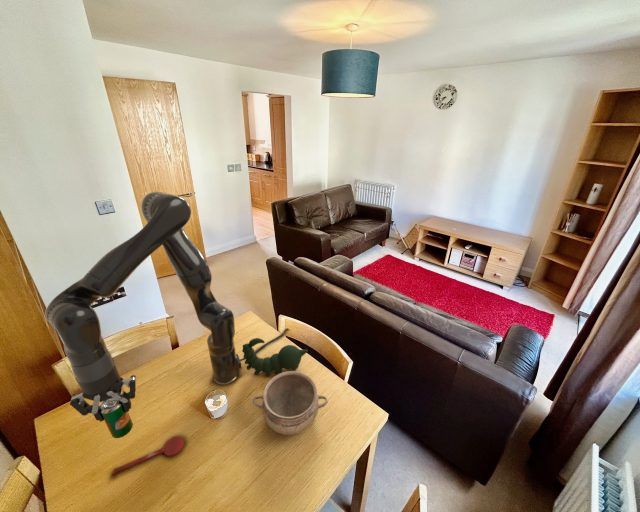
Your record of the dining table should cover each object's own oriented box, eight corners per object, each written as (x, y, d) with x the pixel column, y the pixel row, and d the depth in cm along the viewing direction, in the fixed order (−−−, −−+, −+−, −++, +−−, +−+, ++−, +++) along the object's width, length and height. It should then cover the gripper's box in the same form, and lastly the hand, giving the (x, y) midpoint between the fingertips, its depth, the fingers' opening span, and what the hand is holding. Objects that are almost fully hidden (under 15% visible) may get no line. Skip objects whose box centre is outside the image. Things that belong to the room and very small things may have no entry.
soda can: (123, 441, 75) (109, 413, 70) (107, 437, 76) (93, 409, 71) (137, 423, 80) (126, 396, 74) (122, 420, 80) (110, 392, 75)
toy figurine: (248, 386, 107) (311, 374, 110) (239, 350, 98) (307, 338, 102) (249, 367, 115) (308, 356, 118) (241, 333, 107) (304, 322, 110)
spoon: (183, 434, 88) (182, 431, 87) (184, 450, 84) (184, 448, 83) (113, 464, 80) (112, 462, 79) (111, 484, 75) (110, 482, 75)
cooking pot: (248, 445, 85) (245, 421, 80) (259, 392, 103) (257, 369, 97) (328, 445, 86) (329, 420, 81) (325, 392, 103) (327, 369, 98)
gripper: (53, 392, 61) (79, 439, 68) (128, 369, 68) (145, 413, 75) (61, 368, 67) (85, 413, 74) (130, 349, 73) (146, 392, 81)
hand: (115, 413), depth 75 cm, fingers closed on soda can, 5 cm apart
